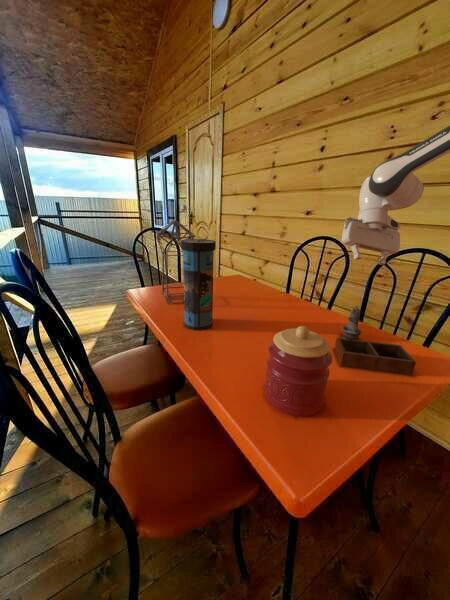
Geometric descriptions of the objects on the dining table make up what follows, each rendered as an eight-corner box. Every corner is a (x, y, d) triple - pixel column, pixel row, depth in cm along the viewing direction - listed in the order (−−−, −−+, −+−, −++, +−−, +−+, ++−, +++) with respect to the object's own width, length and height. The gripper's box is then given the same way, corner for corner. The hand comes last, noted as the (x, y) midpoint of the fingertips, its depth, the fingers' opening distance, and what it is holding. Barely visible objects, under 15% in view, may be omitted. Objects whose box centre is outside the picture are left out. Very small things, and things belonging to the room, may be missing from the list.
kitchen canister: (280, 373, 66) (288, 310, 60) (331, 395, 58) (345, 326, 53) (252, 399, 57) (258, 327, 51) (309, 430, 49) (323, 350, 43)
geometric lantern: (196, 306, 110) (196, 222, 98) (159, 308, 107) (154, 221, 95) (192, 295, 125) (191, 220, 113) (159, 296, 121) (155, 219, 109)
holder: (396, 358, 75) (400, 344, 73) (411, 377, 66) (416, 362, 65) (334, 350, 78) (336, 337, 76) (340, 367, 69) (343, 352, 68)
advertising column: (191, 334, 85) (189, 243, 75) (178, 322, 94) (175, 239, 84) (219, 327, 90) (222, 242, 81) (205, 316, 99) (205, 238, 89)
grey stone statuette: (362, 340, 85) (370, 307, 81) (353, 345, 81) (360, 310, 77) (346, 333, 89) (353, 301, 85) (336, 337, 86) (343, 304, 82)
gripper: (351, 211, 82) (348, 252, 80) (404, 225, 86) (402, 264, 84) (339, 219, 88) (336, 258, 86) (388, 232, 92) (387, 268, 90)
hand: (369, 261), depth 85 cm, fingers open, 8 cm apart
